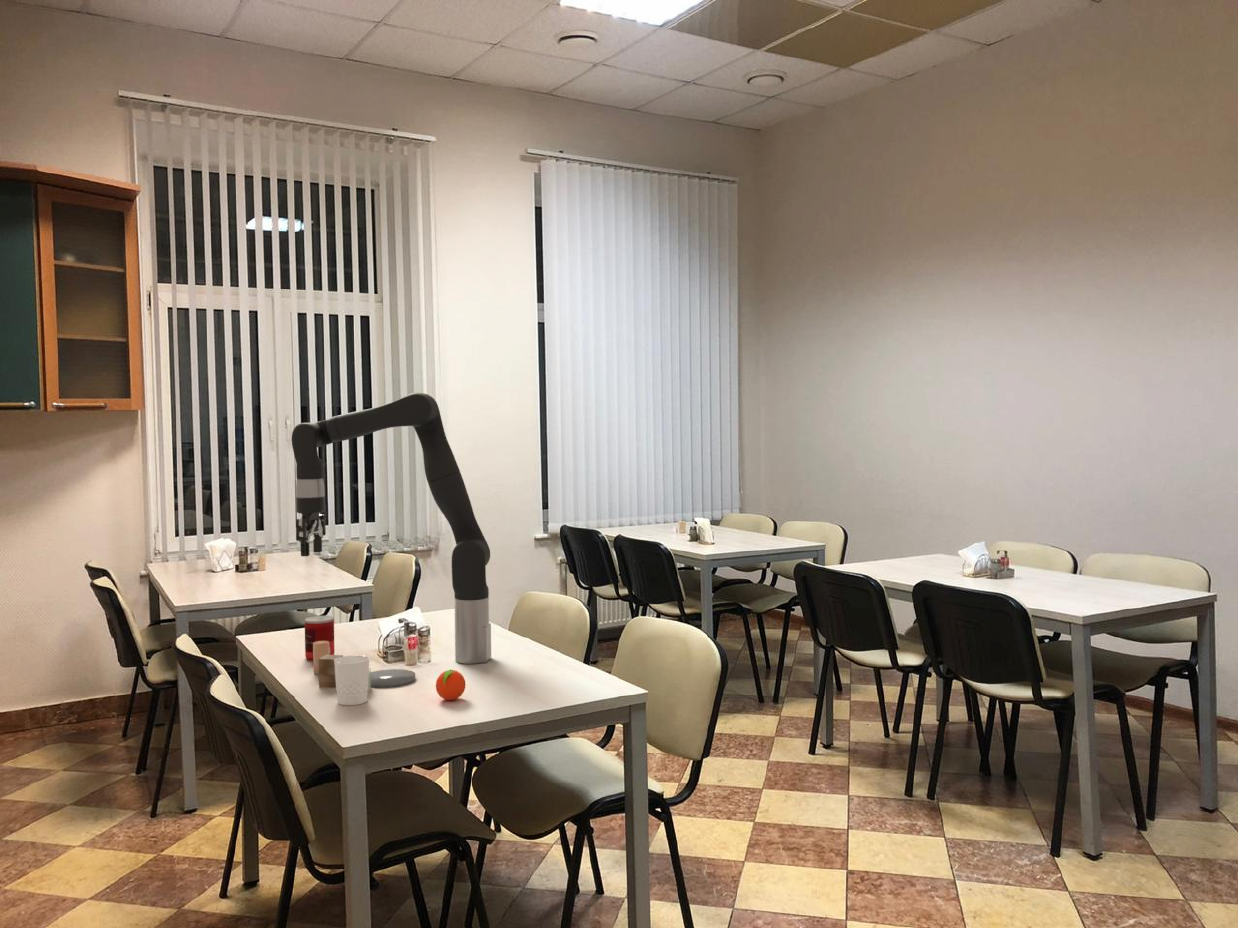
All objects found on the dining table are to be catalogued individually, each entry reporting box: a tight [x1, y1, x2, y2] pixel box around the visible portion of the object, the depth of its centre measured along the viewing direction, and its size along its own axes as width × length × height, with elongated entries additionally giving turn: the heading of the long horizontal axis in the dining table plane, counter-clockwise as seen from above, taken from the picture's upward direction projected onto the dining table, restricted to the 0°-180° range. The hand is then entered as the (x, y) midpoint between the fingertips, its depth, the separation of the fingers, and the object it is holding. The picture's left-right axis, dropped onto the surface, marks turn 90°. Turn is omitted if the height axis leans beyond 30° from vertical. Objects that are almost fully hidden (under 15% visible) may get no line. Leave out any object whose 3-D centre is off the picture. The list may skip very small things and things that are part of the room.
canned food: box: [304, 615, 335, 662], centre depth 269 cm, size 8×8×11 cm
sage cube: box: [368, 667, 372, 695], centre depth 235 cm, size 5×5×5 cm
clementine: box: [435, 669, 466, 701], centre depth 227 cm, size 8×7×7 cm
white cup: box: [334, 654, 370, 706], centre depth 226 cm, size 8×8×10 cm
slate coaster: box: [371, 668, 416, 688], centre depth 245 cm, size 13×13×1 cm
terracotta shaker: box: [312, 641, 329, 676], centre depth 252 cm, size 4×4×8 cm
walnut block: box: [318, 654, 344, 689], centre depth 241 cm, size 4×4×7 cm
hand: (311, 554), depth 267 cm, fingers open, 8 cm apart
